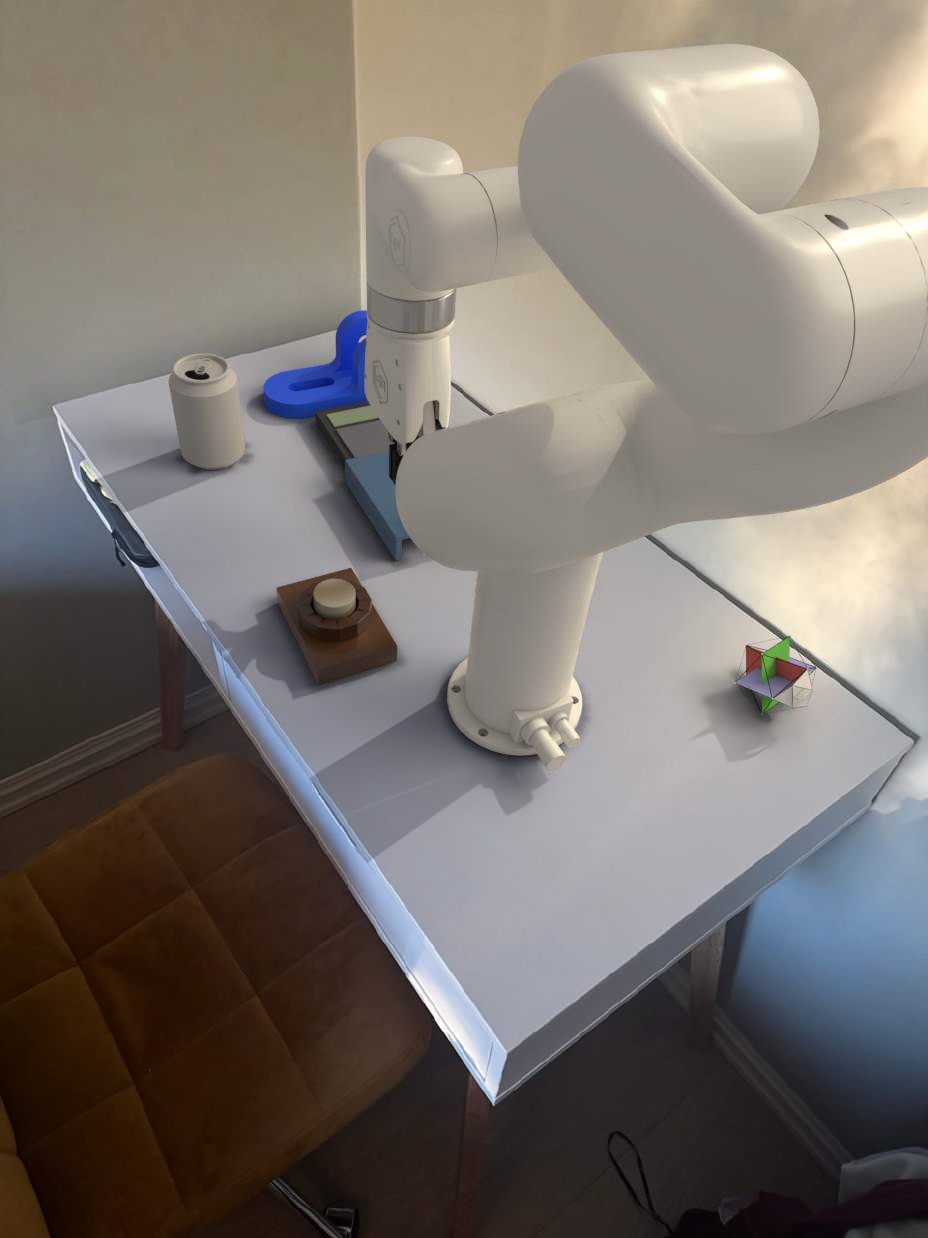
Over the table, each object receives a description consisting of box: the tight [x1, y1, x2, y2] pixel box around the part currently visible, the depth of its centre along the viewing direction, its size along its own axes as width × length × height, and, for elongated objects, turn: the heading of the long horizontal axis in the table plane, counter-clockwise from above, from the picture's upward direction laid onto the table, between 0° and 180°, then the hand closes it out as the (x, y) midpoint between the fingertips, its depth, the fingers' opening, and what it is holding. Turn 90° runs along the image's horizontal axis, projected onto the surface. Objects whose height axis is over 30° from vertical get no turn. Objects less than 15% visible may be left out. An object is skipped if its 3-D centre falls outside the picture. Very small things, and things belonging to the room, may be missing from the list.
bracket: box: [262, 309, 368, 420], centre depth 117 cm, size 18×8×9 cm, turn 115°
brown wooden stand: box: [275, 567, 398, 686], centre depth 88 cm, size 12×8×4 cm, turn 26°
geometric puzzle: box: [733, 634, 818, 716], centre depth 85 cm, size 7×7×8 cm
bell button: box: [313, 579, 356, 620], centre depth 87 cm, size 4×4×2 cm
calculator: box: [314, 401, 394, 470], centre depth 111 cm, size 14×9×2 cm, turn 26°
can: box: [168, 352, 246, 471], centre depth 105 cm, size 8×8×12 cm
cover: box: [344, 451, 411, 562], centre depth 102 cm, size 15×11×5 cm
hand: (406, 479), depth 89 cm, fingers closed
